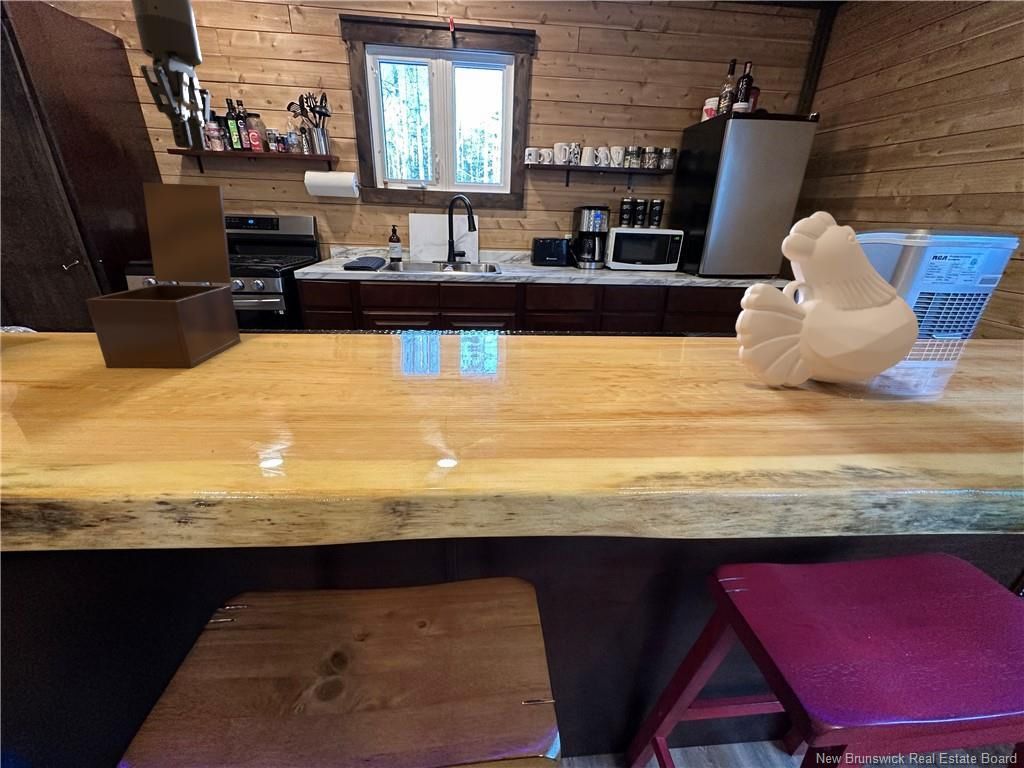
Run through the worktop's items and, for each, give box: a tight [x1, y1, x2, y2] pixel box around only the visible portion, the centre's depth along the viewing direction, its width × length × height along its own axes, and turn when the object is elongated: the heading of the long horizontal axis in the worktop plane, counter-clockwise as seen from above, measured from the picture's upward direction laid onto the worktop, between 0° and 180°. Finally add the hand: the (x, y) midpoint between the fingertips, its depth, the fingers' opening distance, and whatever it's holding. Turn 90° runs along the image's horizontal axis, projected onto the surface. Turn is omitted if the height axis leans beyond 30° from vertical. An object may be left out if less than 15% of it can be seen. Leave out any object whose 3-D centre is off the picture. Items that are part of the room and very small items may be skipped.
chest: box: [85, 283, 242, 369], centre depth 68 cm, size 15×12×10 cm
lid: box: [142, 181, 232, 284], centre depth 72 cm, size 15×12×1 cm
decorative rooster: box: [735, 210, 920, 388], centre depth 67 cm, size 25×16×25 cm
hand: (191, 148), depth 72 cm, fingers open, 3 cm apart
